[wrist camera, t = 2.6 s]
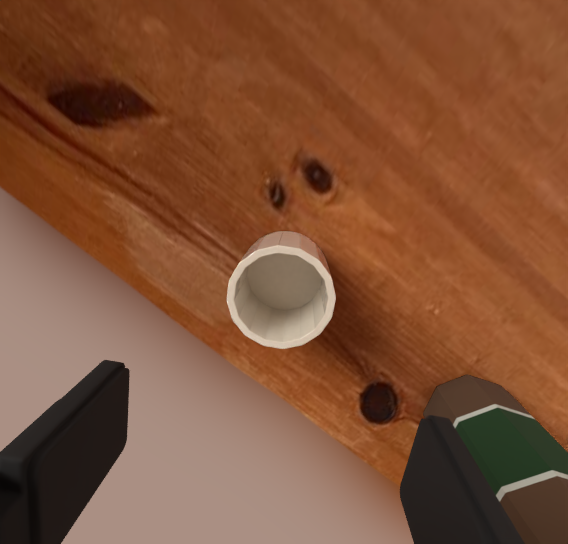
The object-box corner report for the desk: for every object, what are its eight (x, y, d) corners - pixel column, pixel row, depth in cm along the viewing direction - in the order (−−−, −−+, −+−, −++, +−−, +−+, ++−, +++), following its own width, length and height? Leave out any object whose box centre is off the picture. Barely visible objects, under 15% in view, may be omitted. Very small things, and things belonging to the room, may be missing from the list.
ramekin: (238, 305, 30) (221, 339, 23) (248, 224, 28) (233, 237, 21) (319, 318, 30) (324, 356, 23) (334, 238, 28) (344, 255, 21)
